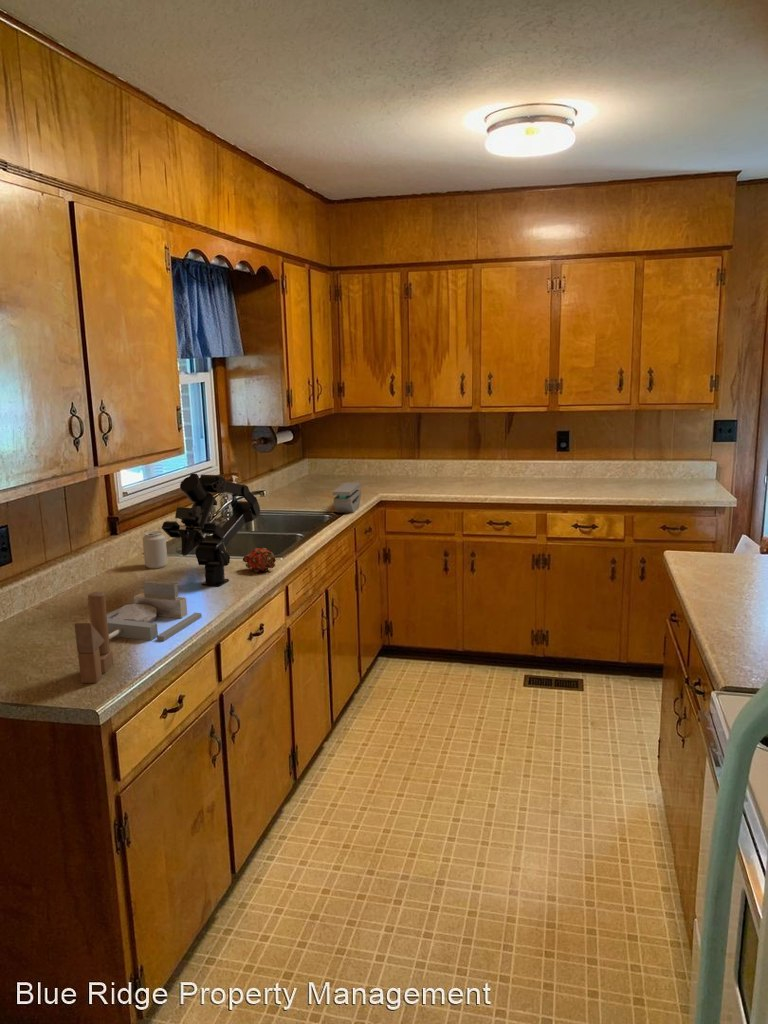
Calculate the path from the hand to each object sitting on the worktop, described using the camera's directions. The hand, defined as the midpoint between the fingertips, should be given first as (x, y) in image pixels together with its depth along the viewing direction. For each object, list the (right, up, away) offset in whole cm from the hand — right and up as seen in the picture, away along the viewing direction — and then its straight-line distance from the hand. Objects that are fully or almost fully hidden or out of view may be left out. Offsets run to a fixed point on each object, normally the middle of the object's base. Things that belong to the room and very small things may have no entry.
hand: (183, 555), depth 218 cm
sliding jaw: (-4, -16, -10) cm, 19 cm away
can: (-20, -6, +38) cm, 43 cm away
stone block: (-8, -18, -16) cm, 26 cm away
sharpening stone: (+42, +13, +125) cm, 133 cm away
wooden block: (-7, -25, -48) cm, 54 cm away
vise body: (-8, -19, -22) cm, 30 cm away
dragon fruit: (+17, -7, +31) cm, 36 cm away
